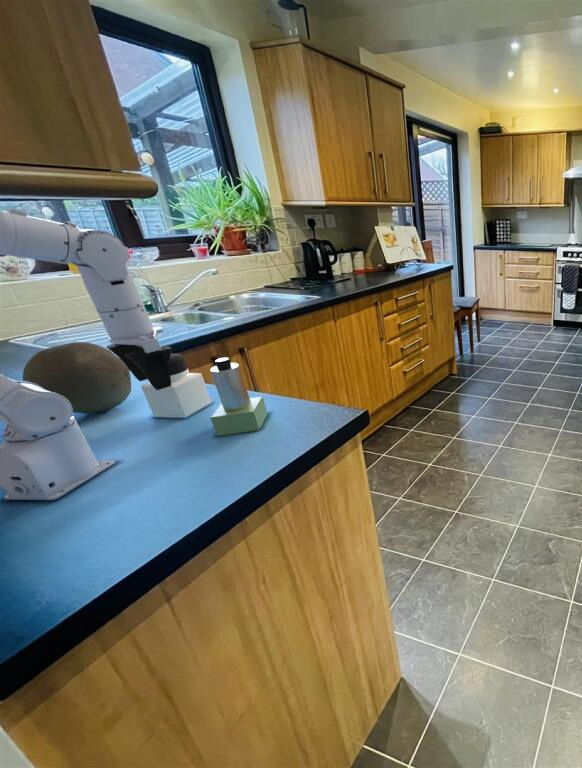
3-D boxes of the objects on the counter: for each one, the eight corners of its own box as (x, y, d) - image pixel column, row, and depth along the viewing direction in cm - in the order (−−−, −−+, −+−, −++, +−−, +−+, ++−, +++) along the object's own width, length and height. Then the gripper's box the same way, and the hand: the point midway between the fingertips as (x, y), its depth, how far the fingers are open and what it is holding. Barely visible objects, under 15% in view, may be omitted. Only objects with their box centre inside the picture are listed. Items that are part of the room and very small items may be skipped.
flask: (241, 411, 74) (225, 363, 70) (218, 411, 74) (201, 364, 71) (256, 401, 78) (241, 355, 74) (234, 401, 78) (218, 355, 75)
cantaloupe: (107, 395, 92) (77, 332, 85) (158, 399, 89) (131, 334, 83) (29, 426, 79) (-13, 354, 73) (87, 431, 77) (48, 358, 70)
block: (259, 430, 76) (253, 411, 74) (217, 436, 74) (210, 417, 72) (267, 413, 82) (262, 396, 80) (228, 419, 80) (222, 401, 78)
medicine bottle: (213, 403, 87) (194, 350, 82) (185, 418, 81) (163, 363, 76) (183, 402, 88) (162, 350, 83) (153, 417, 81) (129, 362, 76)
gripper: (168, 307, 65) (198, 383, 70) (134, 298, 72) (164, 368, 78) (112, 317, 59) (149, 399, 65) (81, 307, 66) (118, 381, 72)
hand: (154, 383), depth 71 cm, fingers open, 7 cm apart
